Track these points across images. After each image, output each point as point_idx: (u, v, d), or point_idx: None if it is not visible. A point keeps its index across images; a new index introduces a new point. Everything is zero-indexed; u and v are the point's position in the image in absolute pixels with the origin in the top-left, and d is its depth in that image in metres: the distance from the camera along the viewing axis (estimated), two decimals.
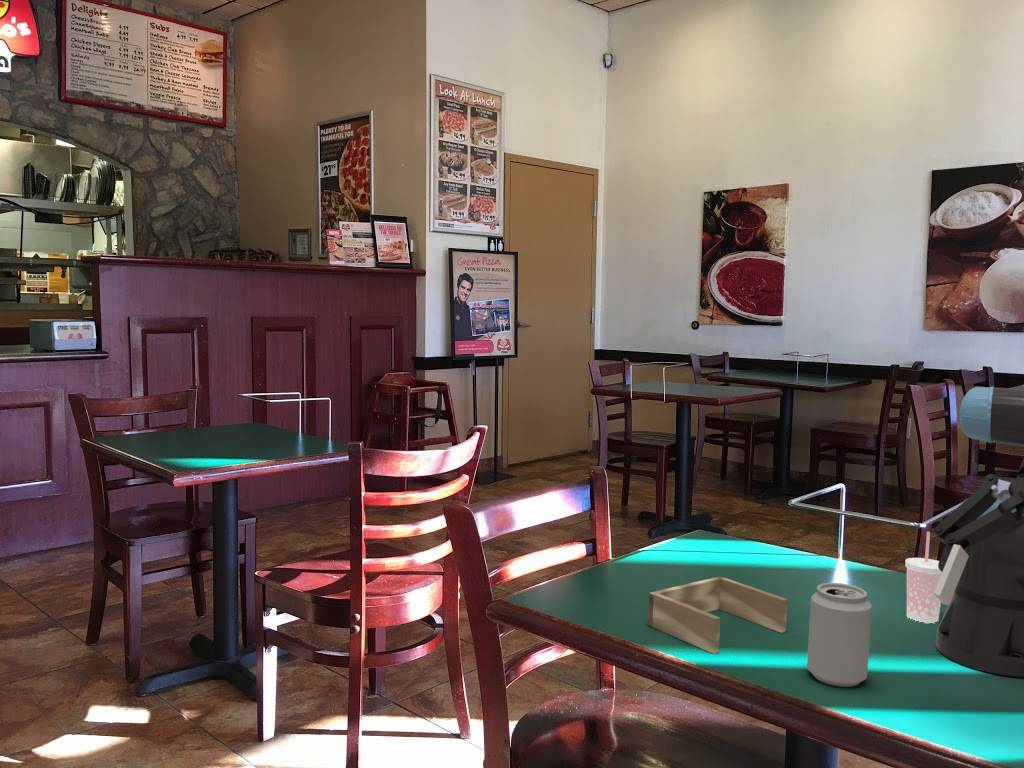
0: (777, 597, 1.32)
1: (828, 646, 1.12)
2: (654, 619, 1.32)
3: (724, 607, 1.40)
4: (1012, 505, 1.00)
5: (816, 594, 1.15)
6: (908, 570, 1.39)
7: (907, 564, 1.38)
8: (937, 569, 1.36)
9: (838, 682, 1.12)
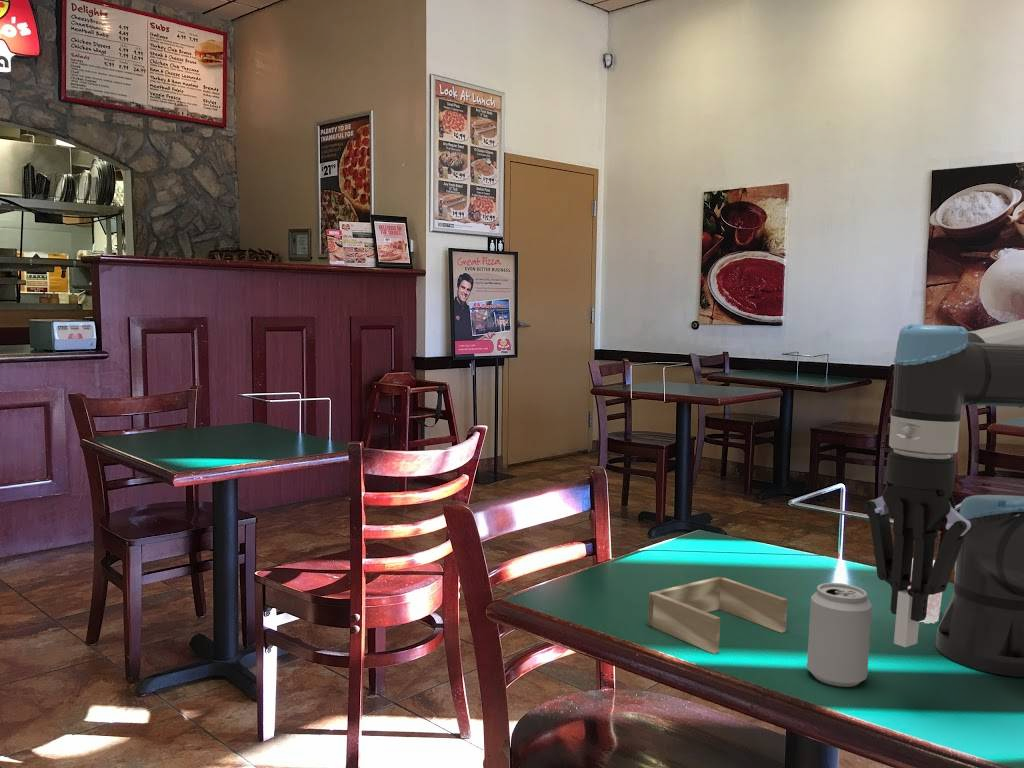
0: (777, 597, 1.32)
1: (828, 646, 1.12)
2: (654, 619, 1.32)
3: (724, 607, 1.40)
4: (901, 525, 1.06)
5: (816, 594, 1.15)
6: None
7: None
8: None
9: (838, 682, 1.12)
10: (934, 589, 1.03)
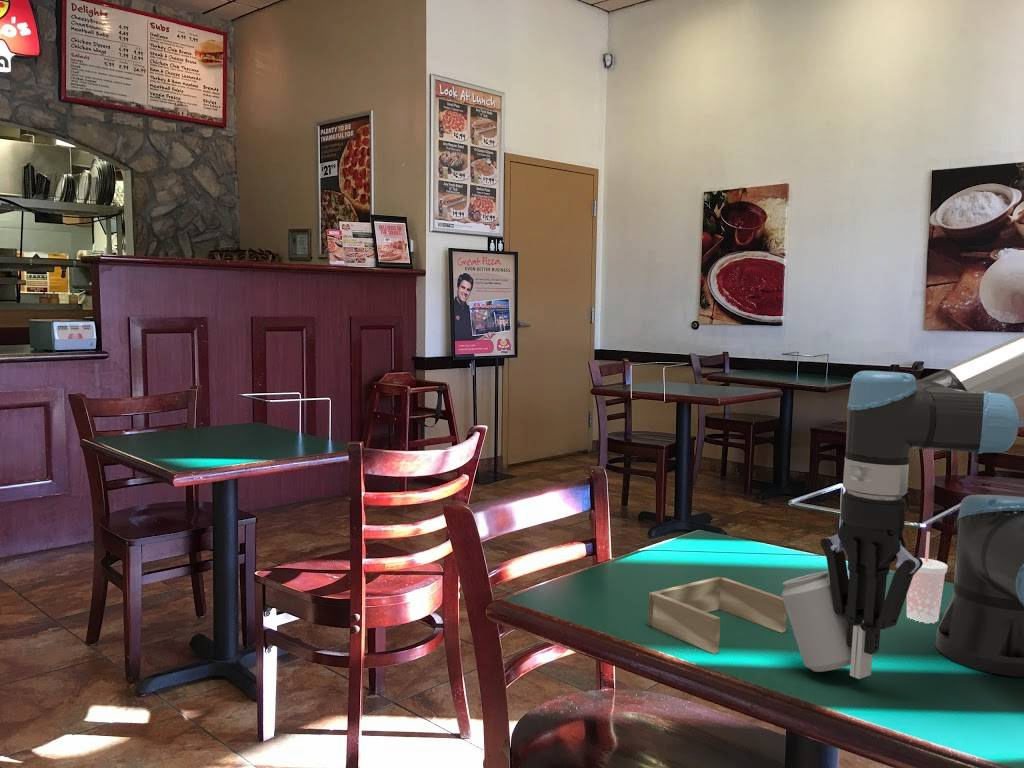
0: (777, 597, 1.32)
1: (810, 631, 1.14)
2: (654, 619, 1.32)
3: (724, 607, 1.40)
4: (855, 563, 1.11)
5: (784, 589, 1.19)
6: None
7: None
8: (937, 569, 1.36)
9: (833, 664, 1.13)
10: (885, 624, 1.08)
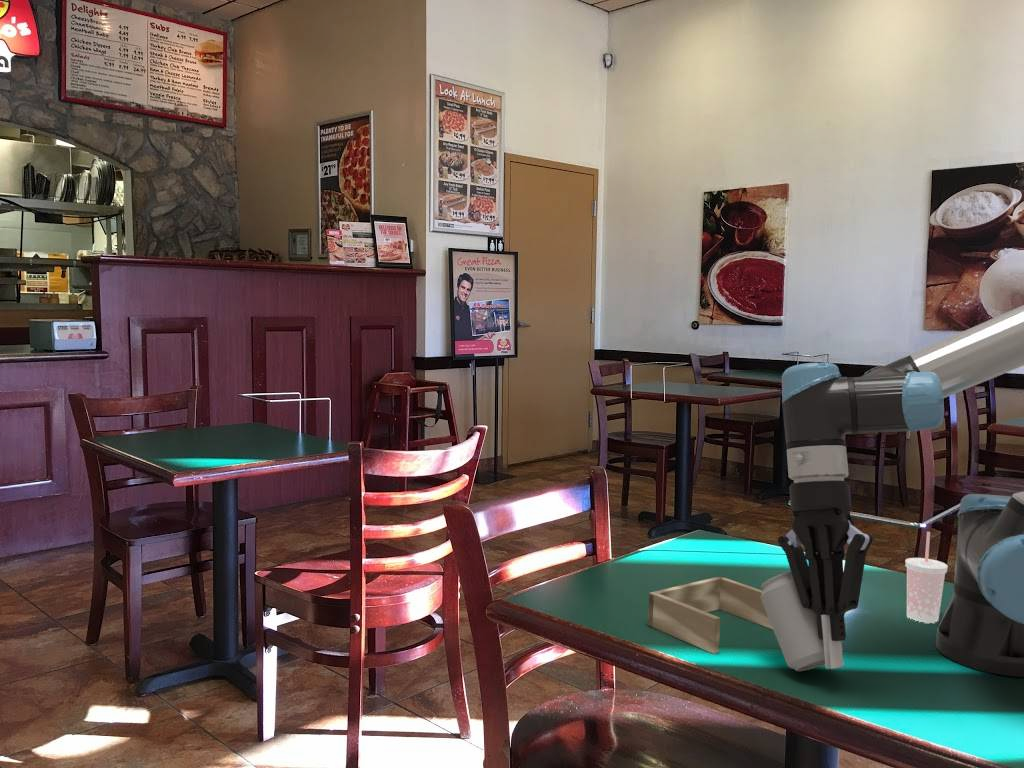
0: None
1: (782, 627, 1.16)
2: (654, 619, 1.32)
3: (724, 607, 1.40)
4: (811, 549, 1.13)
5: None
6: (908, 570, 1.39)
7: (907, 564, 1.38)
8: (937, 569, 1.36)
9: (805, 657, 1.13)
10: (846, 604, 1.09)
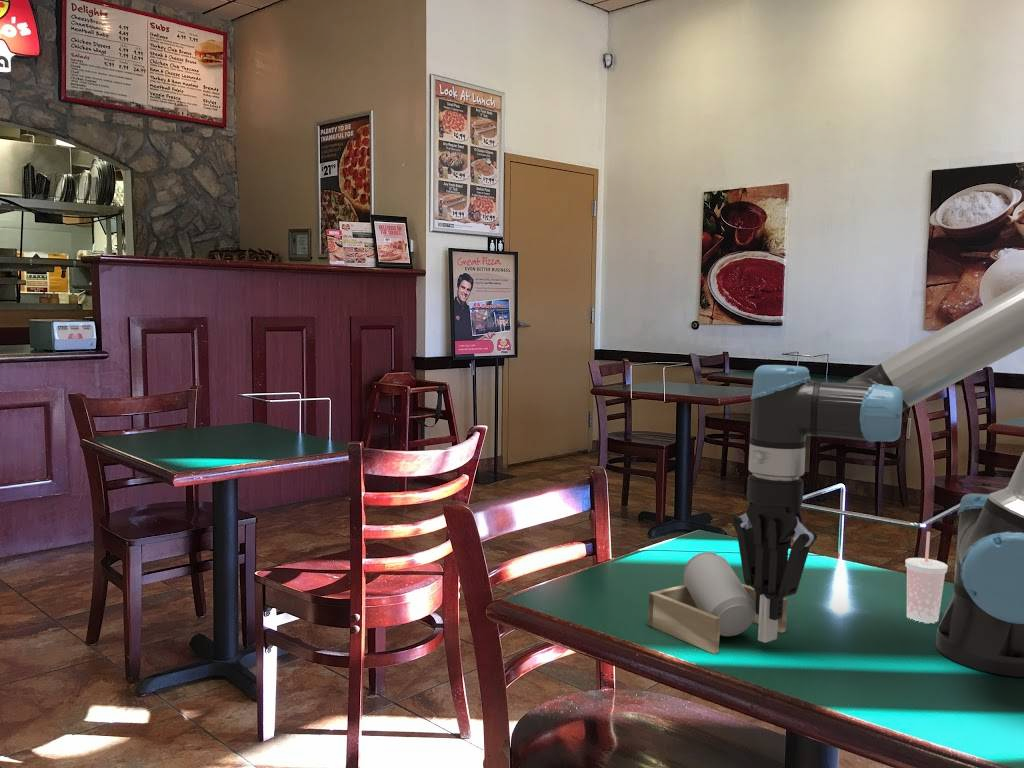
0: None
1: (696, 599, 1.30)
2: (654, 619, 1.32)
3: None
4: (760, 538, 1.23)
5: None
6: (908, 570, 1.39)
7: (907, 564, 1.38)
8: (937, 569, 1.36)
9: (712, 613, 1.25)
10: (785, 592, 1.20)
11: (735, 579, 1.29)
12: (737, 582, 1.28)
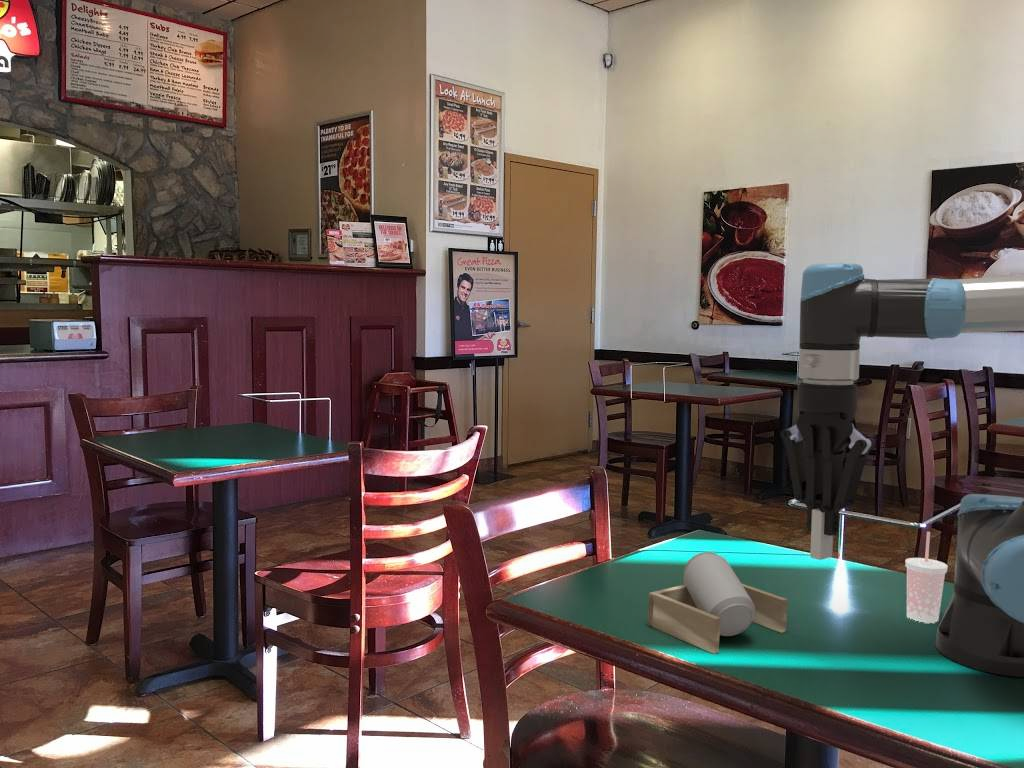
0: (777, 597, 1.32)
1: (695, 599, 1.30)
2: (654, 619, 1.32)
3: None
4: (812, 448, 1.16)
5: None
6: (908, 570, 1.39)
7: (907, 564, 1.38)
8: (937, 569, 1.36)
9: (711, 613, 1.25)
10: (842, 504, 1.13)
11: (734, 579, 1.29)
12: (736, 582, 1.28)
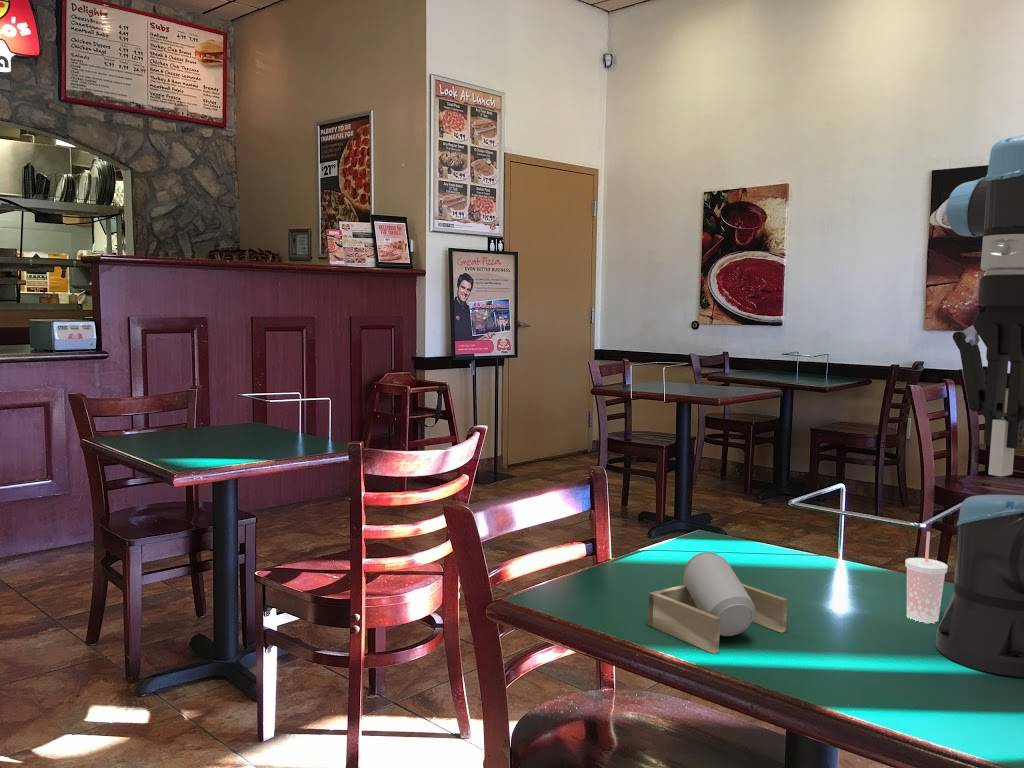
0: (777, 597, 1.32)
1: (695, 599, 1.30)
2: (654, 619, 1.32)
3: None
4: (995, 350, 1.02)
5: None
6: (908, 570, 1.39)
7: (907, 564, 1.38)
8: (937, 569, 1.36)
9: (711, 613, 1.25)
10: None
11: (734, 579, 1.29)
12: (736, 582, 1.28)
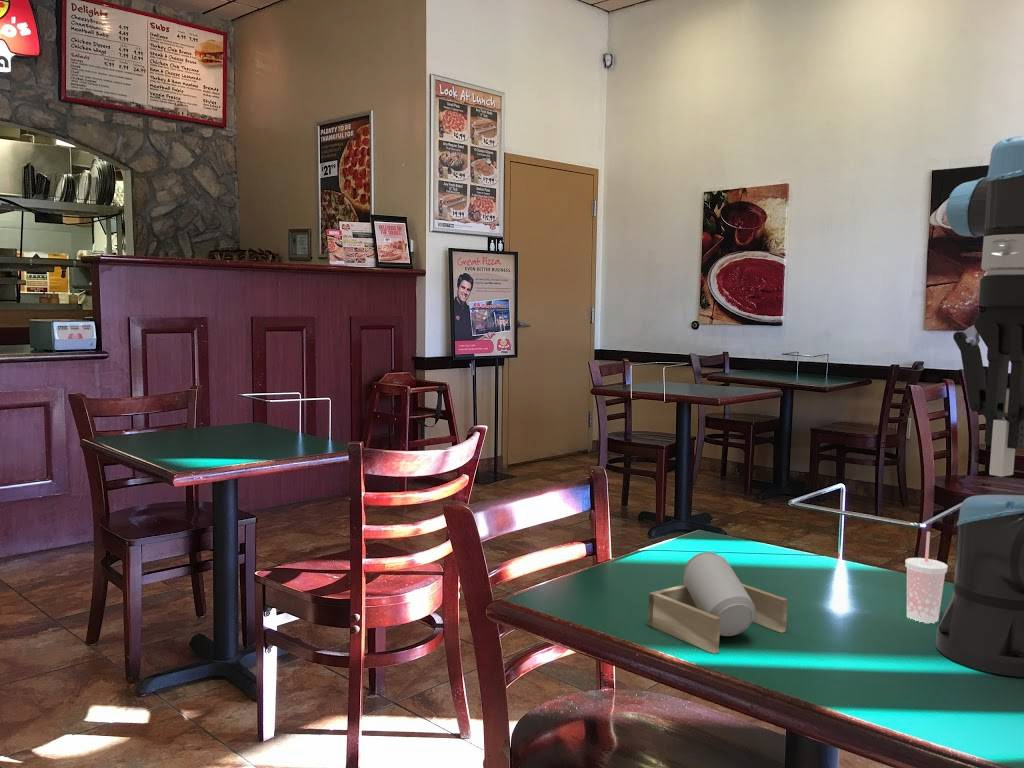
0: (777, 597, 1.32)
1: (695, 599, 1.30)
2: (654, 619, 1.32)
3: None
4: (996, 350, 1.02)
5: None
6: (908, 570, 1.39)
7: (907, 564, 1.38)
8: (937, 569, 1.36)
9: (711, 613, 1.25)
10: None
11: (734, 579, 1.29)
12: (736, 582, 1.28)
